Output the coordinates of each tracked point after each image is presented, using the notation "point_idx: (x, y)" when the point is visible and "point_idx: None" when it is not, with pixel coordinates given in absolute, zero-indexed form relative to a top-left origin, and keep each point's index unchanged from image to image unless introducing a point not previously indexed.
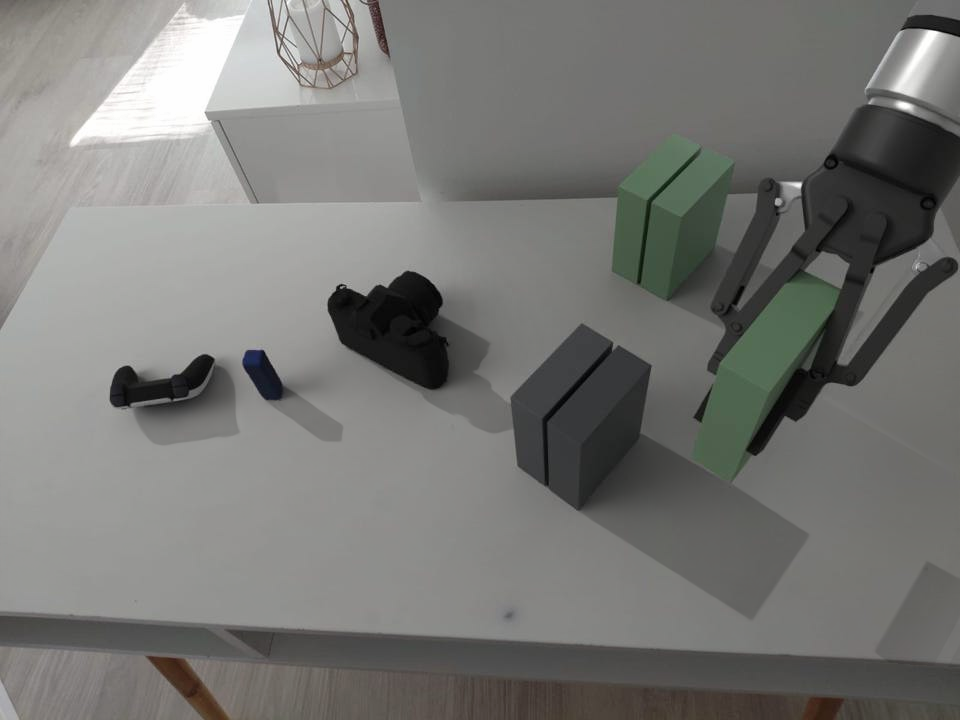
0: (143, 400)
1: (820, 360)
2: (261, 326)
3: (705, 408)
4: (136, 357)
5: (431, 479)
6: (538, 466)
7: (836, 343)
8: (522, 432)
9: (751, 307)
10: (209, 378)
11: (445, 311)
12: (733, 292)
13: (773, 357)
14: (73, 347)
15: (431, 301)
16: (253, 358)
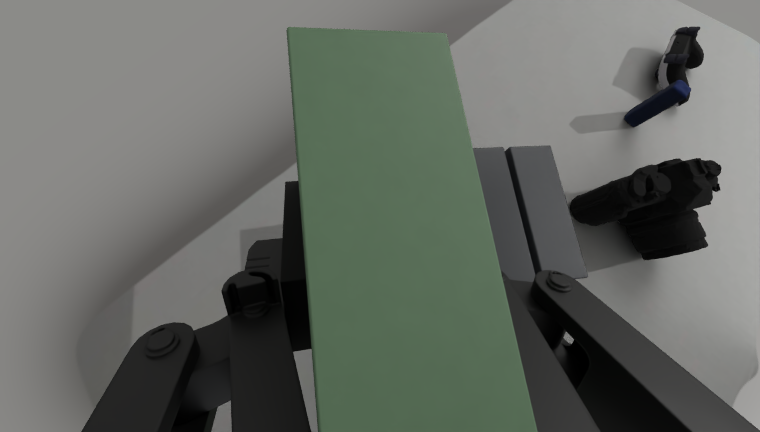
0: (674, 40)
1: (268, 331)
2: (690, 149)
3: None
4: (702, 77)
5: (503, 146)
6: None
7: (246, 395)
8: None
9: (516, 322)
10: None
11: (634, 267)
12: (583, 323)
13: (354, 129)
14: (727, 57)
15: (662, 241)
16: (681, 87)
